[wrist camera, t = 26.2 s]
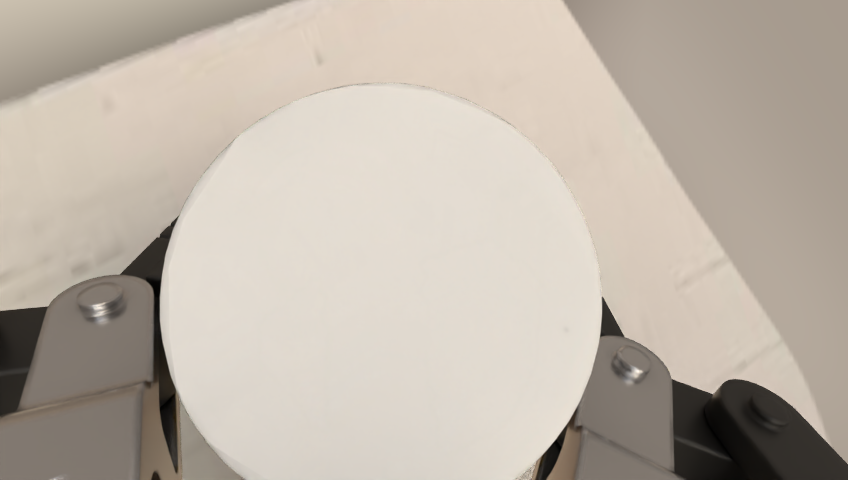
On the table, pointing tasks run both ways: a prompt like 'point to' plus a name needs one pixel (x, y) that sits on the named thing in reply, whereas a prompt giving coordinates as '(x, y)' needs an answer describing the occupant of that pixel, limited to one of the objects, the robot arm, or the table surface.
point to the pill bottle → (380, 293)
